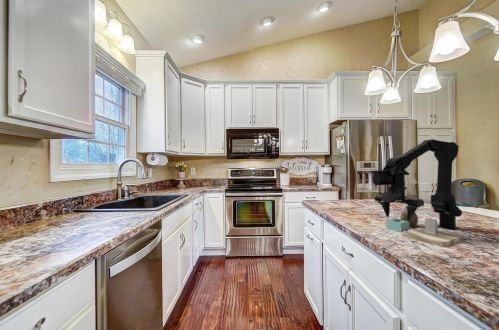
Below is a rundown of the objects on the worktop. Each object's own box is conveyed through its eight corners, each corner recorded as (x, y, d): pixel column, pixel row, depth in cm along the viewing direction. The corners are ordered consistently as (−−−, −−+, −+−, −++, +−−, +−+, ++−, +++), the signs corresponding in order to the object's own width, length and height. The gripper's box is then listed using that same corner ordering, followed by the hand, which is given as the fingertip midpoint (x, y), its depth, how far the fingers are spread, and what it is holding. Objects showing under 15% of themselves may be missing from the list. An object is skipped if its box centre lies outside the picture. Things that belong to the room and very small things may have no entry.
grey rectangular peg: (427, 232, 90) (427, 218, 90) (437, 235, 87) (437, 220, 87) (425, 233, 89) (425, 218, 89) (435, 235, 86) (435, 220, 86)
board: (421, 230, 98) (421, 227, 98) (462, 240, 85) (462, 236, 85) (401, 235, 91) (401, 232, 91) (443, 246, 78) (443, 242, 78)
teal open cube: (394, 226, 104) (394, 217, 104) (409, 230, 98) (409, 220, 98) (386, 228, 101) (386, 219, 101) (400, 232, 96) (400, 222, 96)
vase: (421, 228, 101) (421, 209, 101) (404, 227, 103) (404, 208, 103) (413, 224, 108) (413, 206, 108) (397, 223, 110) (397, 206, 110)
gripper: (366, 184, 105) (367, 216, 105) (409, 187, 88) (409, 226, 88) (381, 183, 110) (382, 214, 110) (424, 186, 93) (425, 222, 93)
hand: (397, 218), depth 100 cm, fingers open, 9 cm apart
